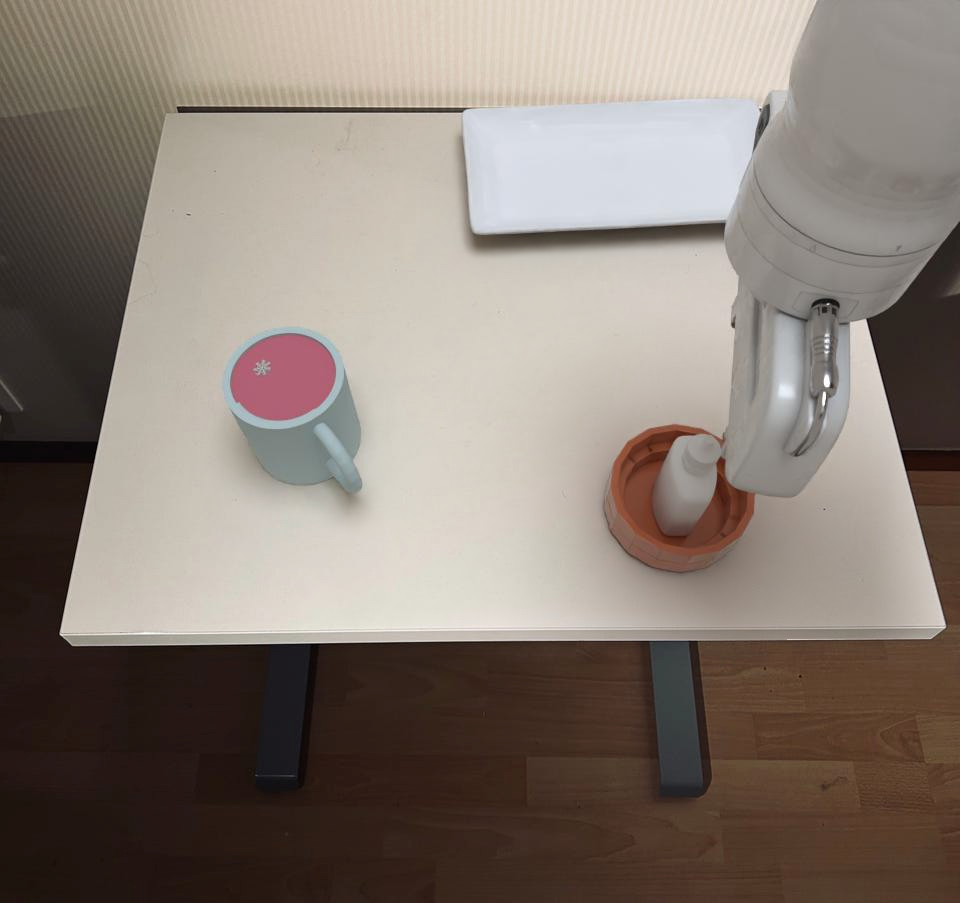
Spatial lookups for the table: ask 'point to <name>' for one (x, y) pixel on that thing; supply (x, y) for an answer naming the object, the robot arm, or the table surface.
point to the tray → (606, 164)
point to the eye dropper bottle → (685, 483)
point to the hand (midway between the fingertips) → (739, 383)
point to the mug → (295, 406)
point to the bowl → (635, 512)
